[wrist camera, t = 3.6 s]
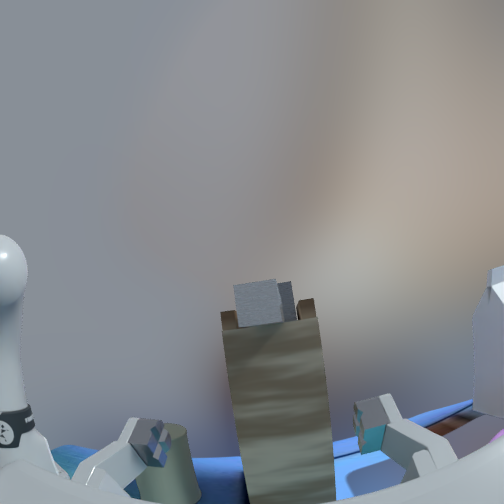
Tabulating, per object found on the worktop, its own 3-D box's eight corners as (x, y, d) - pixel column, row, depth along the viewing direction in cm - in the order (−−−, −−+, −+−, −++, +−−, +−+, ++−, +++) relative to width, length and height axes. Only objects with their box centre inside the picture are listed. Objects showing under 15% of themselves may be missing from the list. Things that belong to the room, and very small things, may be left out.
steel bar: (303, 317, 19) (292, 248, 21) (218, 329, 20) (210, 261, 21) (295, 321, 40) (290, 287, 42) (254, 327, 41) (249, 293, 42)
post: (336, 510, 22) (314, 298, 29) (253, 518, 23) (219, 312, 30) (326, 469, 34) (307, 305, 41) (262, 477, 35) (238, 315, 42)
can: (159, 517, 23) (136, 444, 26) (131, 491, 29) (112, 426, 32) (214, 496, 29) (199, 428, 32) (180, 478, 35) (166, 416, 38)
